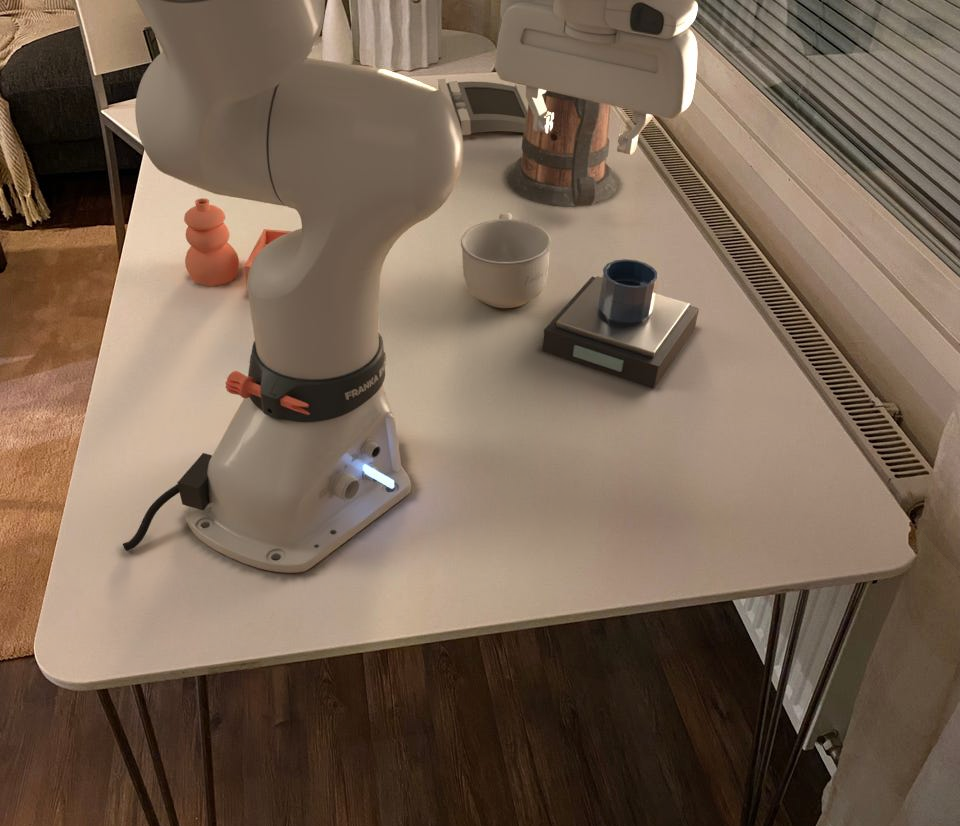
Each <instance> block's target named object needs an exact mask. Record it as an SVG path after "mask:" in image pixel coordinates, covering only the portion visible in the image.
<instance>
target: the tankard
mask: <svg viewBox="0 0 960 826" xmlns="http://www.w3.org/2000/svg"><path fill="white" fill-rule="evenodd" d="M542 97H543V100H544V103H545V106H546V109H547V111H549V112H553V113H554V118H553V120H552V122H553V127H552V130H551V131H550V132H548V133H547V134H546V133H542V132H537V131H534V130H533V124H534V114H533V113H532V111H531V108H530V106H529V103H528V112H527V121H526V129H525V132H524V133H523V132H522V139H521V152H522V154H521V156H520V157H519V158H518V159H517V160H516V162H514V164H513V166H512V167H511V168H509V170H508V171H507V172H506V177H505V178H506V183H507V184H508V186H509V188H510V189H511V190H512V191H513V192H514V193H516V194H518V195H520V196H521V197H523V198H526V199H528V200H530V201H534V202H536V203H539V204H545V205H549V206H557V207H558V206H559V207H591V206H592V205H594V204H597V203H601V202H603V201H605V200H607V199H609V198H611V196H613V195H614V194H615V193H616V191H617V189H618V182H617V181H618V180H617V179H616V178H615V176H614V175H613V174H612V170H611V167H609V165H608V164H607V158H608V156H609V150H610V139H609V129H610V118H611V117H610V115H611V107H612V106H611V105H607V104H602V103H598V102H594V101H589V100H585V99H581V98H577V97H572V96H568V95H564V94H559V93H555V92H551V91H546V92H545V93H544V94H542Z"/></svg>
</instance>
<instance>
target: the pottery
mask: <svg viewBox="0 0 960 826" xmlns="http://www.w3.org/2000/svg"><path fill="white" fill-rule="evenodd" d="M194 204H195V205H194V206H192V207H190V208H189V209H188V210H187V211H186V212H185V213H184V217H183V221H184V224H186V225H187V227H186V228H185V238H186V241H187V243H188V244H189V245H190V247H189V248H188V249H187V251H186V254H185V258H184V265H185V269H186V271H187V273H188V276H189V278H190V279H191V281H192V282H193V283H195V284H197V285H200V286H207V287H215V286H222V285H226V284H229V283H230V282H232V281H234V280H235V279H236V278H237V277H238V274H239V265H240V260H239V256H238V253H237V251H236V250H235V248H234V247H233V246H232V244H230V243H229V242H228V241H229V239H230V230H229V228H228V226H227V225H226V223H225V220H226V214H225V212H224V211H223V209H221V208H220V207H218V206H216V205H213V204H210V200H209V199H208V198H205V197H204V198H197V199H195V201H194ZM292 231H293V230H292ZM292 231H291V230H280V229H266V228H263V230H262V232H261V234H260V236H259V238H258V239H257V241H256V243H255V245H254V247H253V249H252V251H251V252H250V254H249V256H248V258H247V260H246V262H245V263H244V266H243V268H244V269H243V270H244V276H245V282H246V284H247V279H248V274H249V270H250V267H251V264H252V262H253V260H254V258H255V257H256V255H257V254H258V253H259V251H260V250H261V249H262V248H263V247H265V246H266V245H267V244H269V243H270V242H271V241H273V240H275V239H276V238H278V237H280V236H282V235H285V234H287V233H289V232H292ZM246 290H247V291H248V288H247V287H246ZM247 297H248V298H249V295H248V294H247Z"/></svg>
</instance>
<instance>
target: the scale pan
mask: <svg viewBox="0 0 960 826" xmlns="http://www.w3.org/2000/svg"><path fill="white" fill-rule="evenodd" d="M601 281H602V276H599V275H597V276H596V278H595V279H594V280H593V281H592V283H591V284H590V285H589V286H588V287H587V288H586V289H585V290H584V291H583V293H582V294H581V295H580V296H579V297H578V298H577V299H576V300H575V302H574V303H573V304H572V305H571V306H570V307H569V308H568V309H567V310H566V312H565V313H564V314H563V315H562V316H561V317H560V318H559V319H558V321H557V322H556V327H557V328H560V329H563V330H566V331H570V332H573V333H576V334H579V335H582V336H585V337H588V338H591V339H594V340H598V341H601V342H604V343H607V344H610V345H613V346H616V347H619V348H623V349H626V350H629V351H632V352H635V353H638V354H641V355H644V356H647V357H651V358H654V357H655V355H656V354H657V352H658V351H659V350H660V348H661V347H662V345H663V344H664V343H665V341H666V340H667V338H668V337H669V336H670V334H671V333H672V331H673V330H674V329H675V327H676V326H677V324H678V323H679V322H680V320H681V319H682V317H683V316H684V315H685V313H686V312H687V310H688V309H689V305H690V303H689V302H685V301H683V300H679V299H676V298H674V297H673V298H672V297H669V296H666V295H663V294H659V293H655V298H654V303H653V308H652V312H651V314H650V315H649V316H648V317H647V318H645V319H644V320H642V321H640V322H637V323H619V322H616V321H613V320H611V319H609V318H607V317H606V316H605V315H604V314H603V313H602V311H601V310H600V309H599V296H600V288H601ZM690 306H691V305H690Z"/></svg>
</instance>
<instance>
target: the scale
mask: <svg viewBox="0 0 960 826" xmlns="http://www.w3.org/2000/svg"><path fill="white" fill-rule="evenodd" d="M596 277H597V276H596ZM596 277H595V276H591V277H590V278H589V279H588V280H587V281H586V282H585V283H584V284H583V286H582V287H581V288H580V289H579V290H578V291H577V292H576V294H575V295H574V296H573V297H572V298H571V299H570V300H569V301H568V302H567V303H566V304H565V306H564V307H563V308H562V309H561V310H560V312H559V313H558V314H557V315H556V316H555V317H554V318H553V319H552V320H551V321H550V322H549V324H548V325H546V327H545V328H544V329H543V337H542V347H541V351H542V352H544V353H546V354H550V355H553V356H556V357H558V358H562V359H565V360H568V361H571V362H573V363H577V364H580V365H583V366H586V367H589V368H592V369H595V370H598V371H601V372H604V373H608V374H610V375H613V376H617V377H619V378H622V379H625V380H628V381H632V382H634V383H638V384H641V385H643V386H645V387H646V386H647V387H650V388H653V389H655V388H656V386H657V385H658V383H659V382H660V380H661V379H662V377H663V376H664V374H665V373H666V372H667V370H668V369H669V367H670V366H671V364H672V363H673V361H674V360H675V358H676V357H677V355H678V354H679V353H680V351H681V350H682V348H683V347H684V346H685V344H686V343H687V341H688V340H689V338H690V337H691V335H692V334H693V332H694V330H695V329H696V324H697V320H698V315H699V311H700V308H699V307H696V306H693V305H689V309H688V310H687V312H686V313H685V315H684V316H683V317H682V319H681V320H680V322H679V323H678V324H677V326H676V327H675V329H674V330H673V331H672V333H671V334H670V336H669V337H668V338H667V340H666V341H665V343H664V344H663V345H662V347H661V348H660V350H659V351H658V352H657V354H656V355H655V357H654V358H651V357H647V356H644V355H641V354H638V353H635V352H632V351H629V350H626V349H623V348H619V347H616V346H613V345H610V344H607V343H604V342H601V341H598V340H594V339H591V338H588V337H585V336H582V335H579V334H576V333H573V332H570V331H566V330H563V329H560V328H557V327H556V322H557V321H558V319H559V318H560V317H561V316H562V315H563V314H564V313H565V312H566V310H567V309H568V308H569V307H570V306H571V305H572V304H573V303H574V302H575V300H576V299H577V298H578V297H579V296H580V295H581V294H582V293H583V291H584V290H585V289H586V288H587V287H588V286H589V285H590V284H591V283H592V281H593V280H594V279H595V278H596Z"/></svg>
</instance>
